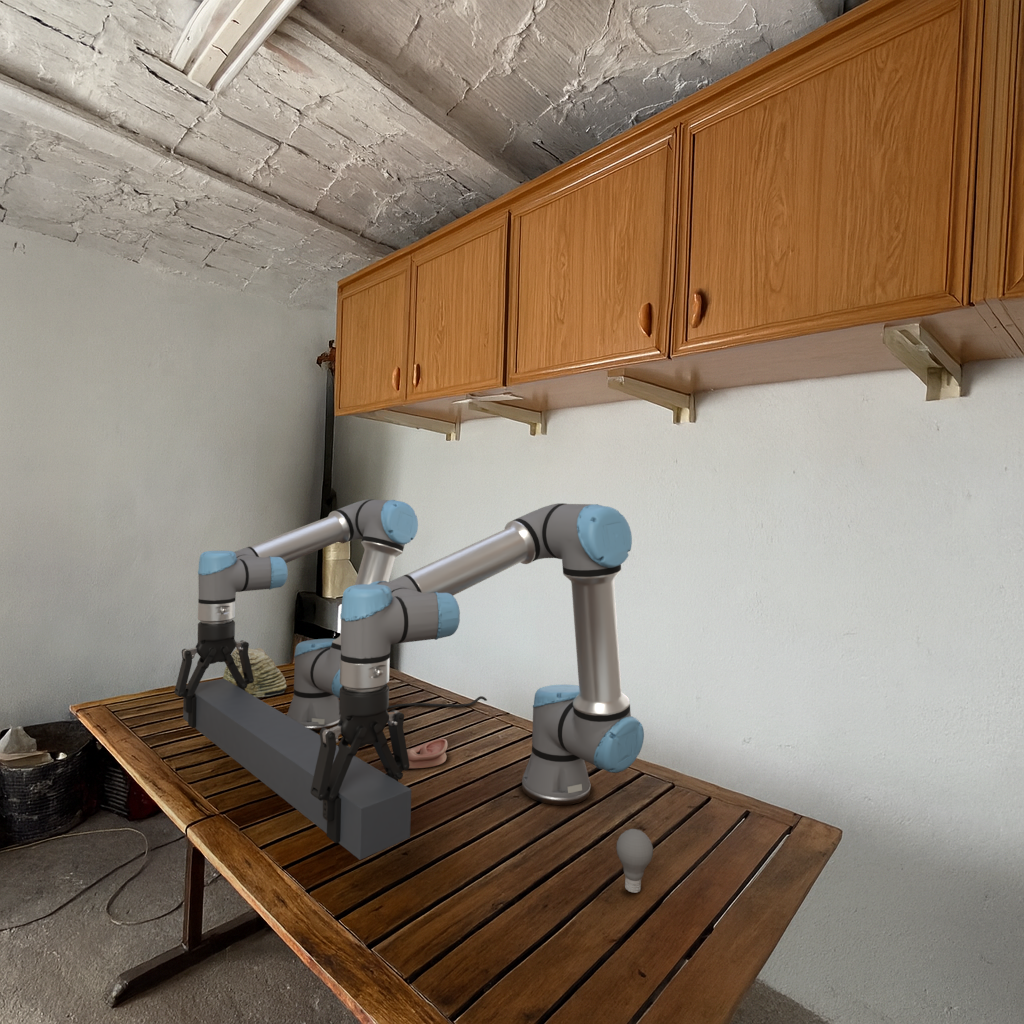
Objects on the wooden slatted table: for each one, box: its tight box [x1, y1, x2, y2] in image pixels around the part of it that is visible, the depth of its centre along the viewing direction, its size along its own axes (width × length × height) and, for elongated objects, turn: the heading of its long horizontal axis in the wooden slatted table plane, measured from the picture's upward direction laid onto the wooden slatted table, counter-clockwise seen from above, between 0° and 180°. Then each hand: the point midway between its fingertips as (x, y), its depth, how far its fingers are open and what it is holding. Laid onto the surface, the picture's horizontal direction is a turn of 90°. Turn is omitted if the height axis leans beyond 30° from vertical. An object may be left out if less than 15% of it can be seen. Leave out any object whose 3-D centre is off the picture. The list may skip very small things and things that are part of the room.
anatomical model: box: [392, 738, 449, 769], centre depth 154 cm, size 13×4×12 cm
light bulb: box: [615, 828, 654, 894], centre depth 106 cm, size 6×6×10 cm
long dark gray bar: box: [182, 678, 412, 861], centre depth 120 cm, size 74×9×8 cm, turn 45°
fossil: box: [222, 647, 288, 698], centre depth 198 cm, size 9×18×15 cm, turn 132°
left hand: (214, 720), depth 142 cm, fingers closed on long dark gray bar, 9 cm apart
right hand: (361, 827), depth 99 cm, fingers closed on long dark gray bar, 9 cm apart
